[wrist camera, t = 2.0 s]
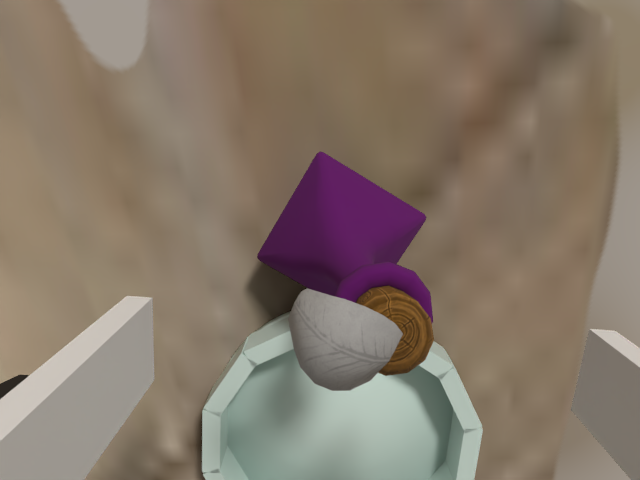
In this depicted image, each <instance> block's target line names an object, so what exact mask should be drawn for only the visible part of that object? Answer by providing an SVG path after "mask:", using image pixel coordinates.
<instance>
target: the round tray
mask: <svg viewBox="0 0 640 480" xmlns="http://www.w3.org/2000/svg"><path fill="white" fill-rule="evenodd" d="M290 312H291V311H290ZM290 312H287V313H285V314H282V315H280V316H278V317H276V318H274V319H273V320H271V321H269V322H267V323H266V324H264V325H263V326H262V327H260V328H259V329H257V330H256V331H255V332H253V333H252V334H250V336H249V337H248V336H247V338H246V339H245V341H244V342H243V343H242V344H241V345H240V347H239V348H238V349H237V350H236V352H235V353H234V354H233V356H232V357H231V359H230V361H229V362H228V364H227V366H226V367H225V370H224V371H223V373H222V374H221V376H220V377H219V379H218V380H217V381H216V383H215V384H214V386H213V387H212V390H211V392H210V394H209V396H208V399H207V401H206V403H205V406H204V409H203V411H202V472H204V473H203V476H204V477H205V479H206V480H474V477H475V472H476V466H477V460H478V455H479V449H480V443H481V437H482V432H483V429H482V425H481V422H480V420H479V418H478V416H477V414H476V412H475V409H474V407H473V405H472V403H471V401H470V399H469V397H468V394H467V392H466V390H465V388H464V386H463V384H462V381H461V379H460V377H459V375H458V373H457V371H456V369H455V367H454V365H453V363H452V361H451V359H450V358H449V356H448V354H447V352H446V350H444V348H443V347H442V346H440V345H439V344H437V343H436V342H434V341H433V344H432V346H431V348H430V350H429V353H428V355H427V357H426V360H425V361H423V362H422V363H421V364H419V365H418V366H417V367H415V368H414V369H412V370H411V371H410V372H408V373H404V374H396V375H389V376H385V375H382V374H380V373H377V374H376V375H375V376H374V377H373V378H372V379H371V380H370V381H369V382H367V383H364V384H362V385H360V386H358V387H356V388H354V389H352V390H350V391H332V390H329V389H327V388H324V387H322V386H319V385H317V384H314V382H313V381H312V380H311V379H310V378H309V377H308V376H307V374H306V373H305V372H304V371H303V370H302V369H301V368H300V365H299V362H298V359H297V357H296V354H295V351H294V347H293V342H292V337H291V332H290V327H289V322H288V318H289V315H290Z"/></svg>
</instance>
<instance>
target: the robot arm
mask: <svg viewBox="0 0 640 480" xmlns="http://www.w3.org/2000/svg"><path fill="white" fill-rule="evenodd" d="M153 381H154V346H153V303H152V298H150V297H136V296H126V297H125V298H124V299H123V300H121V301H120V302H119V303H118V304H116V305H115V306H114V307H113V308H112V309H110V310H109V311H108V312H107V313H105V314H104V315H103V316H102V317H101V318H99V319H98V320H97V321H96V322H94V323H93V324H92V325H91V326H89V327H88V328H87V329H86V330H85V331H83V332H82V333H81V334H80V335H78V336H77V337H76V338H75V339H74V340H72V341H71V342H70V343H69V344H67V345H66V346H65V347H64V348H63V349H61V350H60V351H59V352H58V353H56V354H55V355H54V356H53V357H51V358H50V359H49V360H48V361H47V362H45V363H44V364H43V365H42V366H40V367H39V368H38V369H37V370H36V371H34V372H33V373H32V374H31V375H18V376H16V377H14V378H12V379H9V380H7V381H5V382H3V383H1V384H0V480H84V479H85V478H86V476H87V475H88V473H89V472H90V470H91V469H92V468H93V466H94V465H95V463H96V462H97V460H98V459H99V458H100V456H101V455H102V453H103V452H104V451H105V449H106V448H107V446H108V445H109V443H110V442H111V441H112V439H113V438H114V436H115V435H116V433H117V432H118V431H119V429H120V428H121V426H122V425H123V424H124V422H125V421H126V419H127V418H128V416H129V415H130V414H131V412H132V411H133V409H134V408H135V406H136V405H137V404H138V402H139V401H140V399H141V398H142V397H143V395H144V394H145V392H146V391H147V389H148V388H149V387H150V385H151V384H152V382H153ZM571 411H572V412H573V413H574V414H575V415H576V416H577V418H578V419H579V420H580V421H581V422H582V423H583V424H584V426H585V427H586V428H587V429H588V430H589V432H590V433H591V434H592V435H593V436H594V437H595V438H596V440H597V441H598V442H599V443H600V444H601V445H602V447H604V449H605V450H606V451H607V452H608V453H609V455H610V456H611V457H612V458H613V459H614V461H615V462H616V463H617V464H618V465H619V466H620V467H621V469H622V470H623V471H624V472H625V473H626V474H627V475H628V477H629V478H630V479H631V480H640V348H639V347H637V346H636V345H634V344H633V343H632V342H630V341H628V340H627V339H626V338H625V337H623V336H622V335H620V334H619V333H617V332H616V331H611V330H597V329H589V333H588V337H587V342H586V346H585V350H584V355H583V359H582V363H581V368H580V372H579V377H578V381H577V385H576V390H575V394H574V398H573V403H572V407H571Z"/></svg>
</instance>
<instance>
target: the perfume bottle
mask: <svg viewBox="0 0 640 480" xmlns="http://www.w3.org/2000/svg"><path fill="white" fill-rule="evenodd" d="M425 220H426V216H425V215H424V214H423V213H422V212H420V211H418V210H417V209H415V208H413V207H412V206H410V205H409V204H407V203H405V202H404V201H402V200H400V199H399V198H397V197H395V196H394V195H392V194H391V193H389V192H387V191H386V190H384V189H382V188H381V187H379V186H377V185H376V184H374V183H373V182H371V181H369V180H368V179H366V178H364V177H363V176H361V175H359V174H358V173H356V172H355V171H353V170H351V169H350V168H348V167H346V166H345V165H343V164H341V163H340V162H338V161H337V160H335V159H333V158H332V157H330V156H328V155H327V154H325V153H323V152H319V153H317V154H316V156H315V158H314V159H313V161H312V163H311V164H310V166H309V168H308V170H307V171H306V173H305V175H304V176H303V178H302V180H301V181H300V183H299V185H298V187H297V188H296V190H295V192H294V193H293V195H292V197H291V199H290V200H289V202H288V204H287V205H286V207H285V209H284V210H283V212H282V214H281V216H280V217H279V219H278V221H277V222H276V224H275V226H274V227H273V229H272V231H271V233H270V234H269V236H268V238H267V239H266V241H265V243H264V244H263V246H262V248H261V250H260V251H259V253H258V256H257V258H258V259H259V260H260V261H261V262H263V263H265V264H267V265H268V266H270V267H272V268H274V269H275V270H277V271H279V272H281V273H283V274H284V275H286V276H288V277H290V278H291V279H293V280H295V281H297V282H298V283H300V284H302V285H304V286H305V287H307V289H305V290H303V291H301V292H300V294H299V295H298V297H297V299H296V300H295V302H294V305H293V307H292V310H291V312H290V315H289V318H288V322H289V327H290V332H291V337H292V342H293V347H294V351H295V354H296V357H297V359H298V362H299V365H300V368H301V369H302V370H303V371H304V372H305V373H306V374H307V376H308V377H309V378H310V379H311V380H312V381H313V382H314V384H317V385H319V386H322V387H324V388H327V389H329V390H332V391H350V390H352V389H354V388H356V387H358V386H360V385H362V384H364V383H367V382H369V381H370V380H371V379H372V378H373V377H374V376H375V375H376V374H377V373H380V374H382V375H385V376H389V375H396V374H404V373H408V372H410V371H411V370H412V369H414V368H415V367H417V366H418V365H419V364H421V363H422V362H423V361H425V360H426V357H427V355H428V353H429V350H430V348H431V346H432V344H433V341H434V338H433V330H432V322H433V316H432V306H431V296H430V292H429V290H428V289H427V288H426V286H425V285H424V284H423V282H422V281H421V280H420V278H419V277H418V276H417V274H416V273H415V272H414V271H412V270H409V269H407V268H404V267H402V266H399V265H396V264H397V262H398V261H399V259H400V258H401V256H402V255H403V253H404V252H405V250H406V249H407V247H408V246H409V244H410V243H411V241H412V240H413V238H414V237H415V235H416V234H417V232H418V231H419V229H420V228H421V226H422V225H423V223H424V222H425ZM308 288H309V289H308Z"/></svg>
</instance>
